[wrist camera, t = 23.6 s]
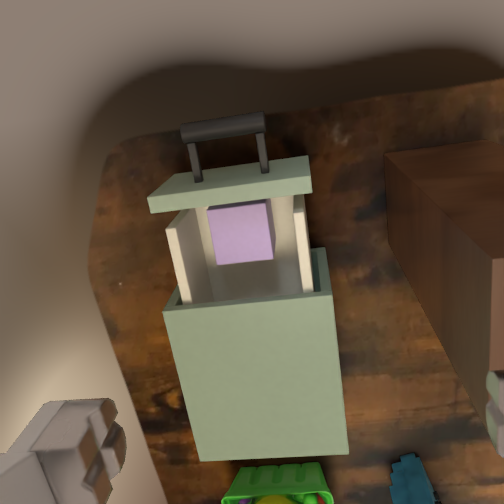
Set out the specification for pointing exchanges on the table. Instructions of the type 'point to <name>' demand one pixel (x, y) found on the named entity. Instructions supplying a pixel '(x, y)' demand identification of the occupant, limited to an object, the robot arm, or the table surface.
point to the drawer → (232, 191)
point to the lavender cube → (242, 231)
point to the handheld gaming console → (411, 482)
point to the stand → (454, 249)
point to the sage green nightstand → (261, 373)
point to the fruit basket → (279, 485)
